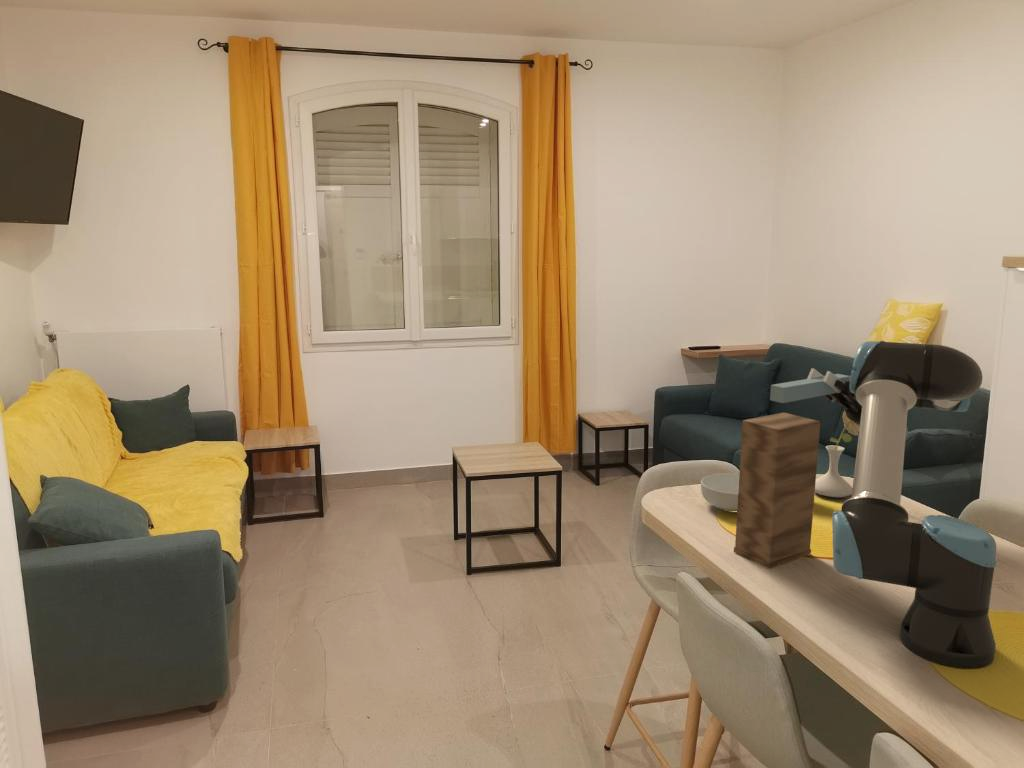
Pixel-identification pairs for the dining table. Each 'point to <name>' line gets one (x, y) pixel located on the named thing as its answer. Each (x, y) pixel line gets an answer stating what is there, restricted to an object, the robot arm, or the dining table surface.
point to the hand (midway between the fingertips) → (818, 375)
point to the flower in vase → (836, 466)
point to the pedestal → (776, 488)
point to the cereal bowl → (721, 490)
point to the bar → (803, 389)
